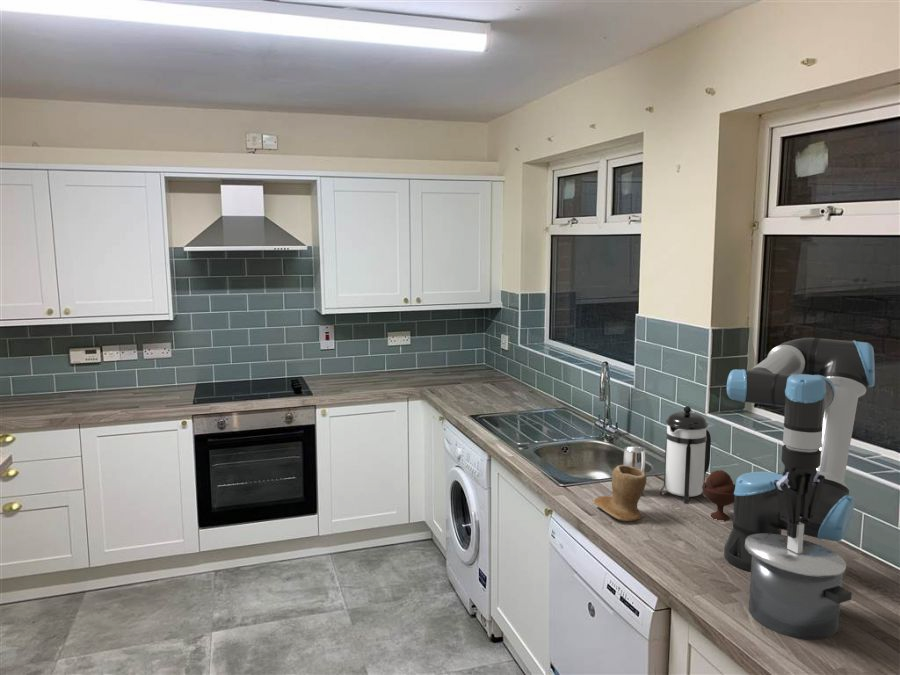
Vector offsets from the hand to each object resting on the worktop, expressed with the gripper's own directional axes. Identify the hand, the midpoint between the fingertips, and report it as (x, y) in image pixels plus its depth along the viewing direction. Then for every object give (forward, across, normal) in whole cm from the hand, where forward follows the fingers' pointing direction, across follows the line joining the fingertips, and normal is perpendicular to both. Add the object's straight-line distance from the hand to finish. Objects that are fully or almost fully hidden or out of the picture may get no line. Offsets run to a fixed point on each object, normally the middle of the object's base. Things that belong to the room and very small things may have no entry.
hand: (794, 550), depth 151 cm
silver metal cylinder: (+16, -15, -75) cm, 78 cm away
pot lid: (+2, 0, 0) cm, 2 cm away
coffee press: (+16, -30, -67) cm, 75 cm away
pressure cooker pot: (+16, -2, 0) cm, 16 cm away
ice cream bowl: (+16, -26, -48) cm, 57 cm away
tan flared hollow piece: (+16, -1, -62) cm, 64 cm away
